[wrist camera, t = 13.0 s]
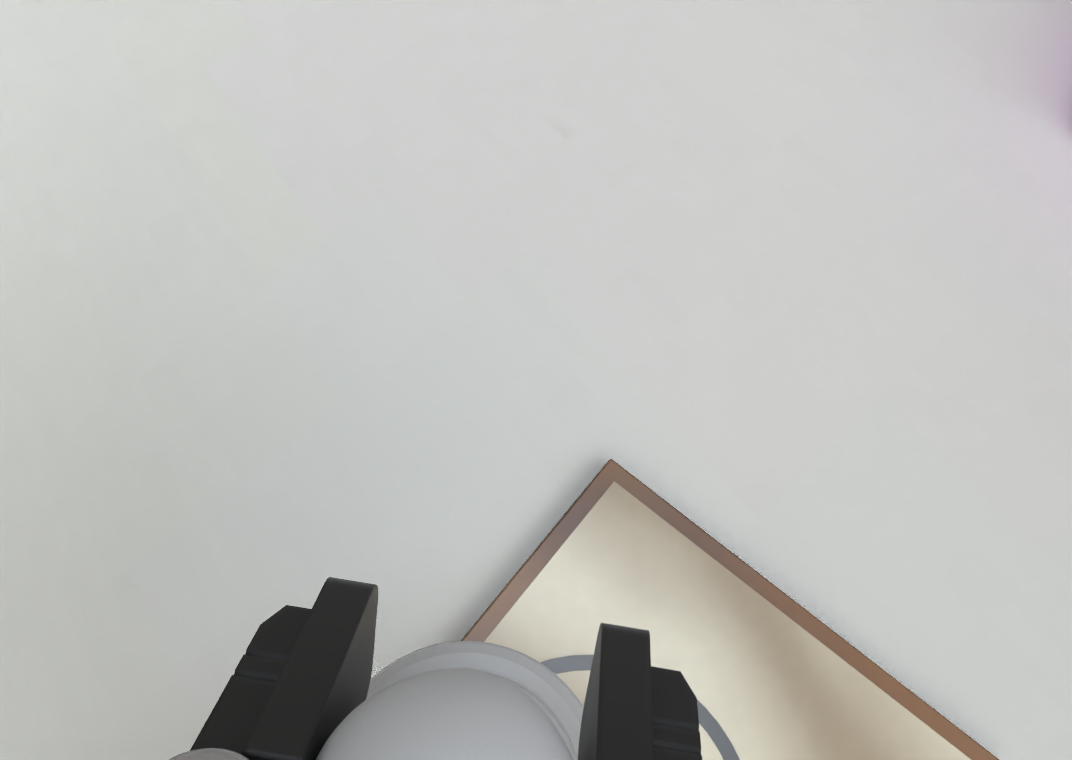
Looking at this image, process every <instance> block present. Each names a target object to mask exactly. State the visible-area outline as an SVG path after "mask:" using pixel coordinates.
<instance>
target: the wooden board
mask: <svg viewBox="0 0 1072 760" xmlns="http://www.w3.org/2000/svg"><path fill="white" fill-rule="evenodd" d="M601 623H607V624H613V625H619V626H625V627H631V628H637V629H643V630H649V632H650V654H651V666H652V667H658V668H664V669H670V670H676V671H681V673H682V675H683V676H684V678H685V680H686V681H687V683H688V684H689V686H690V688H691V689H692V691H693V693H694V694H695V696H696V698H697V706H698V717H699V732H700V739H701V755H702V760H999V759H998V758H996V757H995V756H994V755H993V754H991V753H990V752H989V751H987V750H986V749H985V748H984V747H982V746H981V745H980V744H978V743H977V742H976V741H974V740H973V739H972V738H971V737H969V736H968V735H967V734H965V733H964V732H963V731H962V730H960V729H959V728H958V727H956V726H955V725H954V724H953V723H951V722H950V721H949V720H947V719H946V718H945V717H944V716H942V715H941V714H940V713H938V712H937V711H936V710H934V709H933V708H932V707H931V706H929V705H928V704H927V703H925V702H924V701H923V700H922V699H920V698H919V697H918V696H916V695H915V694H914V693H913V692H911V691H910V690H909V689H907V688H906V687H905V686H904V685H902V684H901V683H900V682H898V681H897V680H896V679H895V678H893V677H892V676H891V675H889V674H888V673H887V672H885V671H884V670H883V669H882V668H880V667H879V666H878V665H876V664H875V663H874V662H873V661H871V660H870V659H869V658H867V657H866V656H865V655H864V654H862V653H861V652H860V651H858V650H857V649H856V648H855V647H853V646H852V645H851V644H849V643H848V642H847V641H845V640H844V639H843V638H842V637H840V636H839V635H838V634H836V633H835V632H834V631H833V630H831V629H830V628H829V627H827V626H826V625H825V624H824V623H822V622H821V621H820V620H818V619H817V618H816V617H815V616H813V615H812V614H811V613H809V612H808V611H807V610H806V609H804V608H803V607H802V606H800V605H799V604H798V603H796V602H795V601H794V600H793V599H791V598H790V597H789V596H787V595H786V594H785V593H784V592H782V591H781V590H780V589H778V588H777V587H776V586H775V585H773V584H772V583H771V582H769V581H768V580H767V579H766V578H764V577H763V576H762V575H760V574H759V573H758V572H756V571H755V570H754V569H753V568H751V567H750V566H749V565H747V564H746V563H745V562H744V561H742V560H741V559H740V558H738V557H737V556H736V555H735V554H733V553H732V552H731V551H729V550H728V549H727V548H726V547H724V546H723V545H722V544H720V543H719V542H718V541H717V540H715V539H714V538H713V537H711V536H710V535H709V534H707V533H706V532H705V531H704V530H702V529H701V528H700V527H698V526H697V525H696V524H695V523H693V522H692V521H691V520H689V519H688V518H687V517H686V516H684V515H683V514H682V513H680V512H679V511H678V510H677V509H675V508H674V507H673V506H671V505H670V504H669V503H667V502H666V501H665V500H664V499H662V498H661V497H660V496H658V495H657V494H656V493H655V492H653V491H652V490H651V489H649V488H648V487H647V486H646V485H644V484H643V483H642V482H640V481H639V480H638V479H637V478H635V477H634V476H633V475H631V474H630V473H629V472H628V471H626V470H625V469H624V468H622V467H621V466H620V465H618V464H617V463H616V462H615V461H613V460H612V459H610V460H609V461H608V462H607V463H606V464H605V466H604V467H603V468H602V469H601V471H600V472H599V473H598V474H597V475H596V477H595V478H594V479H593V480H592V482H591V483H590V484H589V485H588V486H587V488H586V489H585V490H584V491H583V493H582V494H581V495H580V496H579V497H578V499H577V500H576V501H575V502H574V503H573V505H572V506H571V507H570V508H569V510H568V511H567V512H566V513H565V514H564V516H563V517H562V518H561V519H560V521H559V522H558V523H557V524H556V525H555V527H554V528H553V529H552V530H551V532H550V533H549V534H548V535H547V536H546V538H545V539H544V540H543V541H542V543H541V544H540V545H539V546H538V547H537V549H536V550H535V551H534V552H533V554H532V555H531V556H530V557H529V558H528V560H527V561H526V562H525V563H524V565H523V566H522V567H521V568H520V569H519V571H518V572H517V573H516V574H515V575H514V577H513V578H512V579H511V580H510V582H509V583H508V584H507V585H506V586H505V588H504V589H503V590H502V591H501V593H500V594H499V595H498V596H497V597H496V599H495V600H494V601H493V602H492V604H491V605H490V606H489V607H488V608H487V610H486V611H485V612H484V613H483V615H482V616H481V617H480V618H479V619H478V621H477V622H476V623H475V624H474V626H473V627H472V628H471V629H470V630H469V632H468V633H467V634H466V635H465V637H464V638H463V639H462V640H461V641H478V642H488V643H493V644H497V645H501V646H506V647H509V648H511V649H514V650H516V651H519V652H522V653H524V654H526V655H528V656H529V657H531V658H533V659H535V660H537V661H539V662H540V663H542V664H543V665H544V666H546V667H547V668H548V669H550V670H551V671H552V672H554V673H555V674H556V675H557V676H558V677H559V678H560V679H561V680H562V681H563V682H564V683H565V684H566V685H568V687H569V688H570V689H571V690H572V692H573V693H574V694H575V695H576V697H577V698H578V699H579V700H580V702H581V703H582V705H583V707H584V702H585V697H586V692H587V687H588V681H589V676H590V671H591V666H592V661H593V656H594V651H595V646H596V641H597V635H598V631H599V627H600V624H601Z"/></svg>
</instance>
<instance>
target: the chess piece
mask: <svg viewBox="0 0 1072 760" xmlns="http://www.w3.org/2000/svg"><path fill="white" fill-rule="evenodd" d="M583 708H584V707H583V705H582V703H581V702H580V700H579V699H578V698H577V697H576V695H575V694H574V693H573V692H572V690H571V689H570V688H569V687H568V685H566V684H565V683H564V682H563V681H562V680H561V679H560V678H559V677H558V676H557V675H556V674H555V673H554V672H552V671H551V670H550V669H548V668H547V667H546V666H544V665H543V664H542V663H540V662H539V661H537V660H535V659H533V658H531V657H529V656H528V655H526V654H524V653H522V652H519V651H516V650H514V649H511V648H509V647H506V646H501V645H497V644H493V643H488V642H478V641H453V642H447V643H441V644H436V645H432V646H429V647H426V648H422V649H419V650H416V651H414V652H412V653H410V654H408V655H406V656H403V657H401V658H399V659H398V660H396V661H395V662H393V663H392V664H390V665H388V666H387V667H385V668H384V669H383V670H381V671H380V672H379V673H378V674H376V675H375V676H374V677H373V678H372V679H370V684H369V689H368V694H367V698H366V700H365V701H364V702H363V703H361V704H360V705H359V706H358V707H356V708H355V709H354V710H353V711H352V712H351V713H350V714H349V715H348V716H347V717H346V718H345V719H344V720H343V721H342V722H341V723H340V724H339V725H338V726H337V728H336V729H335V730H334V731H333V733H332V734H331V735H330V737H329V738H328V740H327V741H326V743H325V744H324V746H323V747H322V749H321V751H320V753H319V755H318V756H317V758H316V760H578V747H579V737H580V728H581V721H582V714H583Z"/></svg>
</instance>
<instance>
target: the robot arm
mask: <svg viewBox="0 0 1072 760" xmlns="http://www.w3.org/2000/svg"><path fill="white" fill-rule="evenodd" d="M377 603H378V586H377V585H374V584H368V583H362V582H356V581H350V580H344V579H338V578H332V577H329V578H328V579H327V580H326V582H325V583H324V585H323V587H322V589H321V591H320V594H319V596H318V598H317V600H316V602H315V604H314V606H313V608H312V609H307V608H301V607H295V606H289V605H286V606H285V607H283V608H282V609H281V610H279V611H278V612H277V613H275V614H274V615H273V616H271V617H270V618H269V619H267V620H266V621H265V622H263V623H262V624H261V625H260V627H259V628H258V630H257V632H256V634H255V635H254V637H253V639H252V641H251V643H250V644H249V646H248V648H247V651H246V654H245V655H243V657H242V659H241V660H240V662H239V664H238V666H237V668H236V669H235V674H234V675H232V677H231V678H230V680H229V682H228V684H227V685H226V687H225V689H224V691H223V693H222V694H221V696H220V698H219V700H218V702H217V703H216V705H215V707H214V709H213V710H212V712H211V714H210V716H209V718H208V719H207V721H206V723H205V725H204V727H203V728H202V730H201V732H200V734H199V735H198V737H197V739H196V741H195V743H194V744H193V746H192V748H191V750H190V751H188V752H185V753H182V754H180V755H177V756H175V757H173V758H171V759H170V760H316V758H317V756H318V755H319V753H320V751H321V749H322V747H323V746H324V744H325V743H326V741H327V740H328V738H329V737H330V735H331V734H332V733H333V731H334V730H335V729H336V728H337V726H338V725H339V724H340V723H341V722H342V721H343V720H344V719H345V718H346V717H347V716H348V715H349V714H350V713H351V712H352V711H353V710H354V709H355V708H356V707H358V706H359V705H360V704H361V703H363V702H364V701H365V700H366V698H367V694H368V689H369V684H370V679H371V672H372V664H373V652H374V639H375V627H376V615H377ZM578 760H702V755H701V739H700V732H699V717H698V706H697V698H696V696H695V694H694V693H693V691H692V689H691V688H690V686H689V684H688V683H687V681H686V680H685V678H684V676H683V675H682V673H681V671H676V670H670V669H664V668H658V667H652V666H651V654H650V632H649V630H643V629H637V628H631V627H625V626H619V625H613V624H607V623H601V624H600V627H599V631H598V635H597V641H596V646H595V651H594V656H593V661H592V666H591V671H590V676H589V681H588V687H587V692H586V697H585V702H584V708H583V714H582V721H581V728H580V737H579V747H578Z"/></svg>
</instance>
